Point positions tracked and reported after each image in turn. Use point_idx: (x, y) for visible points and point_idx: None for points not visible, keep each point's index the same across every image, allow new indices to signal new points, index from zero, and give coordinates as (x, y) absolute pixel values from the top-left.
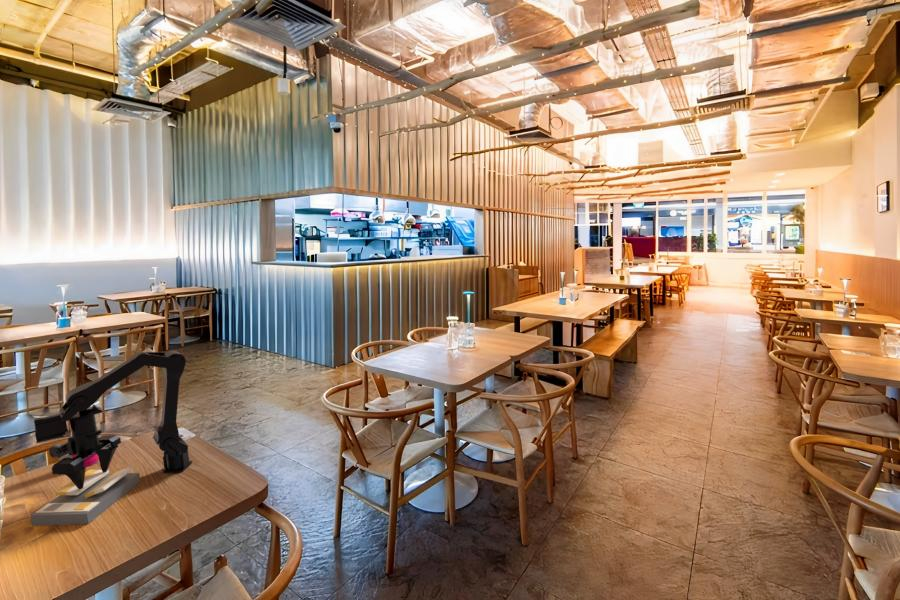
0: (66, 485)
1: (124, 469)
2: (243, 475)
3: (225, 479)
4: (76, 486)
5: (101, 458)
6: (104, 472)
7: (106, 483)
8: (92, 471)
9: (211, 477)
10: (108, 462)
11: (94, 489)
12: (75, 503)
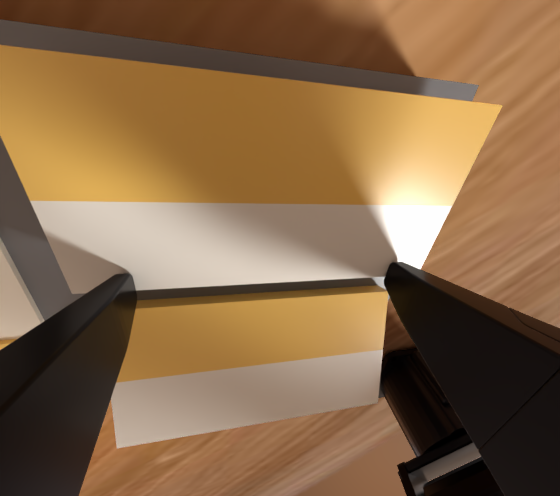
0: (161, 82)
1: (366, 368)
2: (305, 482)
3: (295, 471)
4: (90, 292)
5: (505, 363)
6: (382, 273)
7: (190, 409)
8: (443, 167)
9: (313, 451)
10: (429, 367)
11: (154, 351)
12: (16, 302)
